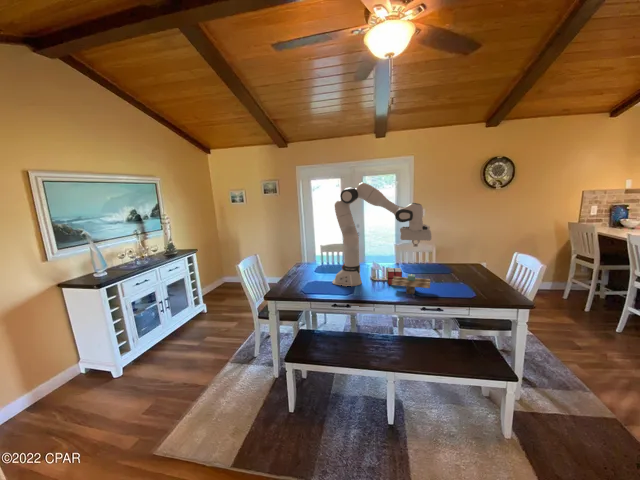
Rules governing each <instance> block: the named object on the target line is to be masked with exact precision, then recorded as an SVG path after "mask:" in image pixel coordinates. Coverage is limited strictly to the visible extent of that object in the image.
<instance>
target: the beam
mask: <svg viewBox="0 0 640 480" xmlns="http://www.w3.org/2000/svg"><path fill="white" fill-rule="evenodd" d="M391 286H399V287H400V286H401V287H405V288H406V289H405V291H406V292H405V294H406V295H415V292H416V288H424V289H431V279H430V278H420V277H419V278H417V277H415V281H408V276H407V277H405V276H404V277H403V276H402V277H393V280H392V285H391Z"/></svg>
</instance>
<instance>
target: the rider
mask: <svg viewBox="0 0 640 480" xmlns="http://www.w3.org/2000/svg"><path fill="white" fill-rule="evenodd" d="M407 278H408V281H415V278H416V274H413V273H408V274H407Z"/></svg>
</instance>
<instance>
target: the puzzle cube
mask: <svg viewBox="0 0 640 480" xmlns="http://www.w3.org/2000/svg"><path fill="white" fill-rule="evenodd" d="M386 269H387V271H386V272H387V273H386V274H387V276H386V277H387V279H386V280H387V285H391V286H393V285H392V280H393V277H403V271H402V268H401V267H387V268H386Z"/></svg>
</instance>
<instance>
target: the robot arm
mask: <svg viewBox="0 0 640 480" xmlns="http://www.w3.org/2000/svg"><path fill="white" fill-rule="evenodd" d="M339 195H340V199H339V200H337V201H336V202H335V203H334V212H335V217H336V219H337V223H338V226H339V229H340V231H341V235H342V237H343V254H344V255H343V256H344V263H343V264H342V266H341V270H340V271H338V272H337V273H336V274H335V278H334V279H332V282H331V283H333V284H332V285H336V286H341V285H342V287H347V286H351V287H356V286H360V285H361V284H363V282H362V278H361V264H360V240H359V234H358V231H357V228H356V225H355V222H354V218H353V215H352V211H351V209H350V208H351V207H350V205H351V204H352V203H354V202H356V201H357V200H358V199H362V200H363V201H364V202H367V203H368V204H370V205H371V206H374V207H375V206H376V207H381V208H384V210H385V209H386V210H387V211H388V212H390V213H392V214H393V215H394V216H395V220H397V222H399V223H406V222H408V226H402V227H400V228H399V229H400V230H399V232H400V240H401V241H411V243H412V244H413V247H415V248H418V247H419V243H420V242H421V241H432V231H431V229H430V228H431V227H430V225H428V224H424V221H423V217H424V208H423V206H422V204H420V203H418V202H417V203H416V202H410V204H408V205H406V206H399V205H397V204H396V203H394V202H392V201H390V199H388V198H387V197H386V196H385V195H384V194H383V193H382V191H380V190H378V189H377V188H376V187H374V186H373V185H371V184H368V183H366V182H360V183H359V184H358V185H357V186H356V187H353V186H352V187H351V186H350V187H348V186H347V187H346V188H344V189H343V190H342V191H341V193H340V194H339ZM415 241H416V242H417V243H415Z"/></svg>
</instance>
